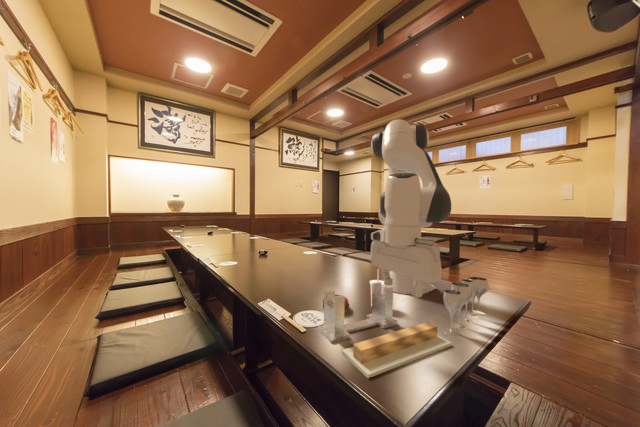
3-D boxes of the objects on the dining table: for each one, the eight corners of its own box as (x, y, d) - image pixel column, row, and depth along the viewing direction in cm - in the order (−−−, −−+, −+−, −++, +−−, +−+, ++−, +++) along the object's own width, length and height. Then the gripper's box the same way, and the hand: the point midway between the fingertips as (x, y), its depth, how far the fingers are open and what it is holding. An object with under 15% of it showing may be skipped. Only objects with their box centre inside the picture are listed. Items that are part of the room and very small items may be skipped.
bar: (427, 332, 69) (427, 321, 69) (437, 337, 66) (437, 326, 66) (353, 356, 57) (353, 344, 57) (361, 363, 54) (361, 350, 54)
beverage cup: (389, 308, 88) (390, 270, 87) (374, 310, 86) (375, 271, 85) (379, 302, 93) (380, 266, 93) (366, 304, 91) (366, 267, 91)
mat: (420, 328, 73) (420, 326, 73) (451, 345, 64) (451, 342, 64) (341, 353, 60) (341, 350, 60) (367, 378, 51) (367, 374, 51)
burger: (336, 302, 93) (336, 290, 93) (354, 310, 86) (354, 297, 86) (316, 308, 87) (316, 295, 87) (334, 318, 80) (334, 304, 79)
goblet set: (458, 338, 68) (459, 291, 67) (437, 330, 72) (438, 286, 72) (490, 312, 85) (491, 275, 85) (472, 307, 90) (473, 272, 90)
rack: (380, 314, 82) (381, 280, 82) (397, 324, 75) (398, 287, 75) (317, 329, 71) (318, 290, 71) (331, 343, 64) (332, 300, 64)
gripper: (448, 240, 54) (447, 302, 54) (383, 231, 72) (383, 278, 72) (429, 242, 51) (428, 307, 51) (366, 233, 69) (366, 281, 69)
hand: (401, 290), depth 62 cm, fingers open, 8 cm apart
